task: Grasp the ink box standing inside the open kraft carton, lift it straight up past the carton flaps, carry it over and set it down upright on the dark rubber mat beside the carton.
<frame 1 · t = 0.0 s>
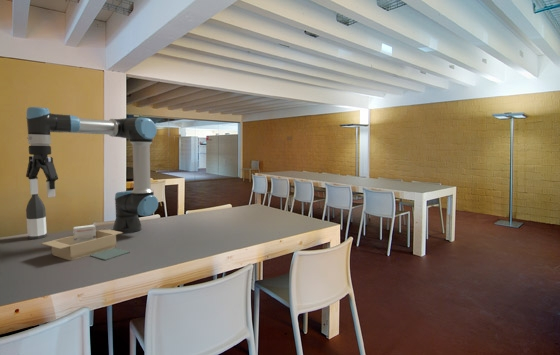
hand: (42, 195, 135), 28 cm above the table, fingers open, 13 cm apart
mat: (110, 254, 146), on the table
wine bottle: (37, 237, 171), on the table
carton: (85, 250, 150), on the table
ink box: (85, 251, 150), resting in carton
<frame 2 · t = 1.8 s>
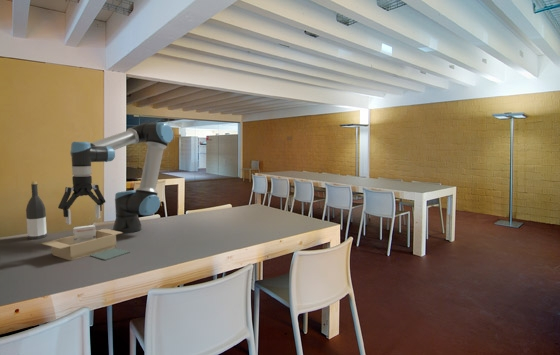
hand: (83, 221, 149), 14 cm above the table, fingers open, 13 cm apart
nothing on the table moved.
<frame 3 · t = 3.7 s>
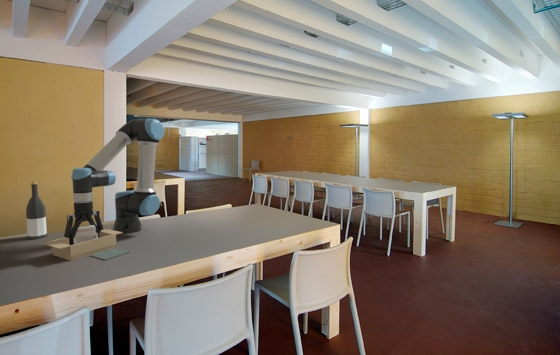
hand: (85, 248, 150), 1 cm above the table, fingers closed on ink box, 9 cm apart
ink box: (85, 251, 150), resting in carton, touching gripper
everything else where it was.
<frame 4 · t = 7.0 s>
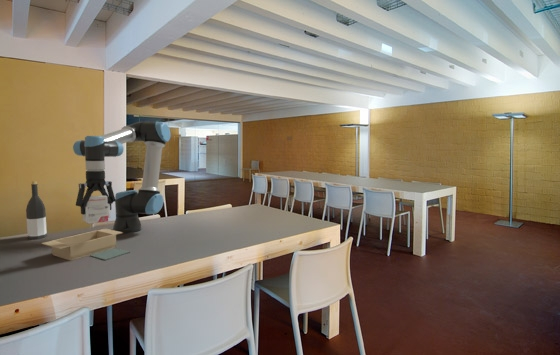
hand: (97, 219, 146), 16 cm above the table, fingers closed on ink box, 9 cm apart
ink box: (97, 222, 146), point 14 cm above the table, touching gripper
everything else where it was.
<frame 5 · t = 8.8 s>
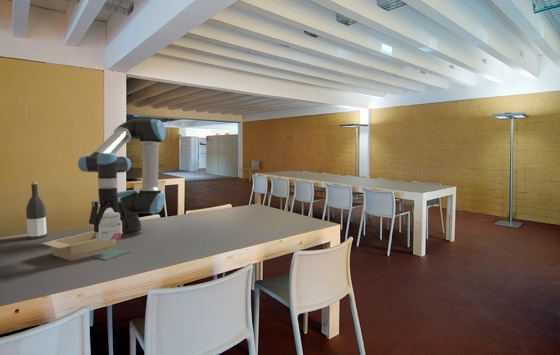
hand: (109, 236, 145), 8 cm above the table, fingers closed on ink box, 9 cm apart
ink box: (109, 239, 145), point 7 cm above the table, touching gripper
everything else where it was.
when the fingers open (3 cm above the table, at t = 10.3 s): ink box drops 1 cm, resting on mat.
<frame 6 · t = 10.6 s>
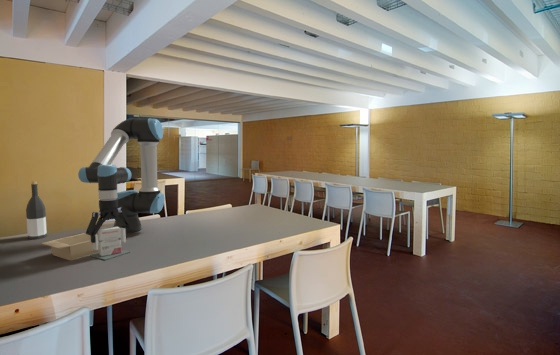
hand: (110, 245, 146), 4 cm above the table, fingers open, 13 cm apart
ink box: (110, 253, 146), resting on mat
everything else where it was.
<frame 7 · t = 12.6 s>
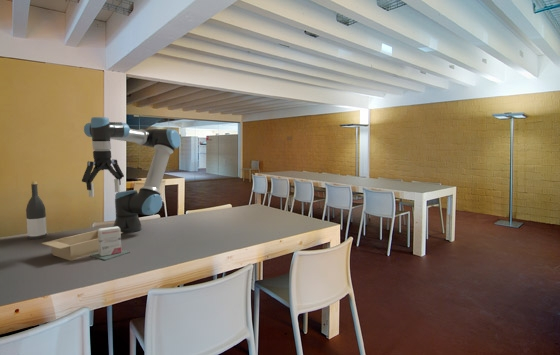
hand: (105, 194, 154), 26 cm above the table, fingers open, 13 cm apart
nothing on the table moved.
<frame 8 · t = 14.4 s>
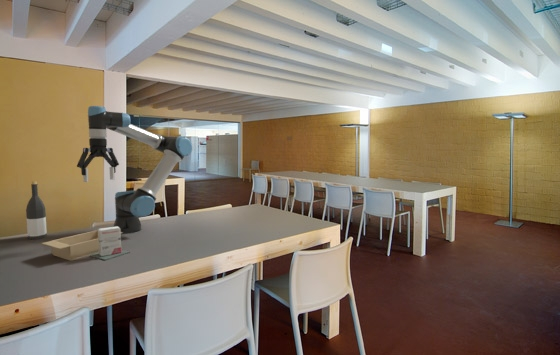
hand: (99, 180, 160), 32 cm above the table, fingers open, 13 cm apart
nothing on the table moved.
at the end: ink box inside the target area on the mat (0.0 cm from its centre), point 0.2 cm above the mat's base; ink box tilted 0°; the gripper is holding nothing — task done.
